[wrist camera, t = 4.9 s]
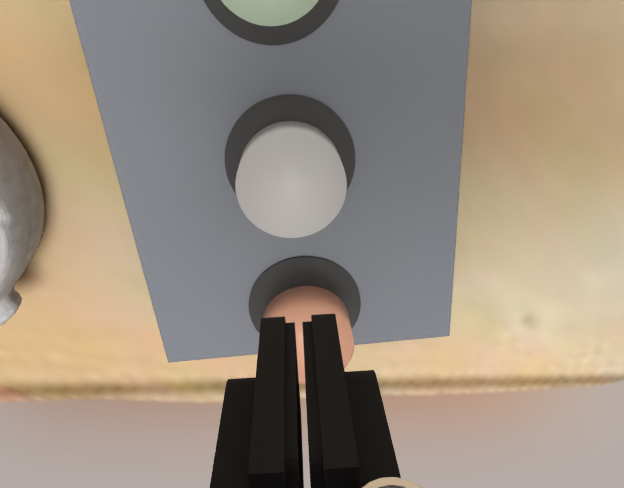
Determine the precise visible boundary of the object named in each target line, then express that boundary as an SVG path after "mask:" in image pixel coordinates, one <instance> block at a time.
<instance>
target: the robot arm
mask: <svg viewBox="0 0 624 488" xmlns="http://www.w3.org/2000/svg"><path fill="white" fill-rule="evenodd" d="M311 319H312V321H308V322H302V324H303V344H304V364H305V384H306V402H307V403H306V404H307V424H308V442H309V443H308V444H309V463H310V481H311V488H422V487H421V486H419V485H417V484H415V483H413V482H411V481H409V480H406V479H401V477H400V473H399V469H398V464H397V461H396V456H395V452H394V448H393V444H392V440H391V435H390V431H389V427H388V423H387V419H386V415H385V411H384V406H383V402H382V398H381V394H380V390H379V386H378V382H377V378H376V374H375V372H374V370H369V371H353V372H344V365H343V359H342V353H341V346H340V340H339V334H338V327H337V321H336V315H335V313H334V314H318V315H311ZM301 430H302V428H301V408H300V393H299V378H298V363H297V348H296V333H295V322H292V323H286V320H285V316H284V317H267V318H261V322H260V334H259V346H258V358H257V370H256V378H242V379H228V381H227V384H226V389H225V395H224V401H223V408H222V414H221V420H220V427H219V433H218V440H217V445H216V452H215V458H214V464H213V471H212V477H211V483H210V488H304V484H303V457H302V431H301Z"/></svg>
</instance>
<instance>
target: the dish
mask: <svg viewBox="0 0 624 488" xmlns="http://www.w3.org/2000/svg"><path fill="white" fill-rule="evenodd" d="M44 208H45V207H44V201H43V194H42V188H41V185H40V182H39V178H38V176H37V173H36V171H35V168H34V166H33V164H32V161H31V159H30V158H29V156H28V154H27V152H26V150H25V149H24V147H23V145H22V144H21V142H20V141H19V139H18V138H17V137H16V135H15V134H14V133H13V132H12V130H11V129H10V128H9V126H8V125H7V124H6V123H5V122H4V121H3V119H2V118H1V117H0V325H3V324H4V323H5V322H6V321H7V320H8V319H9V318H11V317H12V316H13V315H14V314H15V313H16V311H17V309H18V308H19V306H20V304H21V300H22V299H21V296H20V294H19V293H18V292H16V291H15V290H14V285H15V284H16V282H17V281H18V280H19V278H20V277H21V275H22V274H23V272H24V271H25V269H26V268H27V266H28V264H29V263H30V261H31V259H32V258H33V256H34V254H35V252H36V250H37V248H38V245H39V242H40V239H41V235H42V231H43V226H44Z"/></svg>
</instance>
